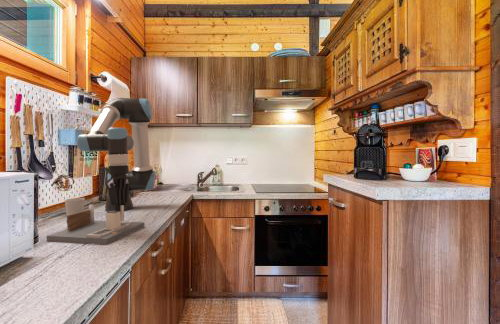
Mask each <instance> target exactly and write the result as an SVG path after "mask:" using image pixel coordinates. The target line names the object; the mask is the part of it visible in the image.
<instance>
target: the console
mask: <svg viewBox="0 0 500 324" xmlns="http://www.w3.org/2000/svg"><path fill="white" fill-rule="evenodd" d="M94 206H95V204H89V205H88V210H90V222H91V223H90V224H87V225H84V226H81V227H78V228H75V229H72V230H67V228H66V229H63V230H60V231H57V232H53V233H50V234H47V235H46V242H55V243H56V242H57V243H58V242H59V243H73V244H74V243H75V244H89V243H94V244H93V245H106V244H107V245H108V243H109V244H110V242H111V243H113V242H116V241H117V240H119V239H121V238H124V237H125V236H128V235H130V234H132V233H134V232H136V231H138V230H141V229H143V228H144V227H145V222H142V221H120V222H121V227H119V228H116V229H114V230H106V220H98V219H97V220H95V207H94Z"/></svg>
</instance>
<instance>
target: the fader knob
mask: <svg viewBox="0 0 500 324" xmlns="http://www.w3.org/2000/svg"><path fill="white" fill-rule="evenodd" d="M105 221H106V230H114V229H116V228H119V227H121V222H120V212H119V211H106V213H105Z"/></svg>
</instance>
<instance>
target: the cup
mask: <svg viewBox="0 0 500 324" xmlns="http://www.w3.org/2000/svg"><path fill="white" fill-rule="evenodd" d="M85 202H86V198H85V197H75V198H74V197H73V198H68V199H67V198H66V199H64V205H65V212H66V216H67V215H71V214H74V213H78V212H82V211H85V204H86V203H85Z"/></svg>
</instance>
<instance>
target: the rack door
mask: <svg viewBox="0 0 500 324" xmlns="http://www.w3.org/2000/svg"><path fill="white" fill-rule="evenodd" d="M90 223H91V222H90V210H89V209H86V210H85V209H84V211H82V212H78V213H74V214H71V215H66V224H67V225H66V227H67V228H66V229H67V230H72V229H75V228H78V227H81V226H84V225H87V224H90Z"/></svg>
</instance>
